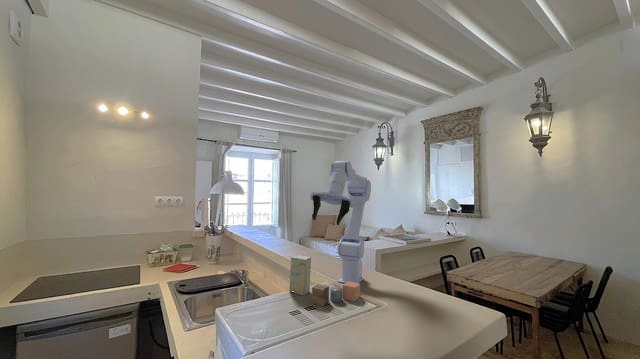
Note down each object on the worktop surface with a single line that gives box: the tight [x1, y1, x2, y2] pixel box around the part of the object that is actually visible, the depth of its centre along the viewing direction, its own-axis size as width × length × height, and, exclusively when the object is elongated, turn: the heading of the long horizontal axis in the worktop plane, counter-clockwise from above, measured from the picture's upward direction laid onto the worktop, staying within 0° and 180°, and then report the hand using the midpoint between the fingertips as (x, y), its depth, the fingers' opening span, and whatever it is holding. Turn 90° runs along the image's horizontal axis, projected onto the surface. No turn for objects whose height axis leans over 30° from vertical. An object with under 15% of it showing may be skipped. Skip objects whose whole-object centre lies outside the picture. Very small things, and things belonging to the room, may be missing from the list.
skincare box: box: [288, 254, 312, 296], centre depth 89 cm, size 6×4×12 cm
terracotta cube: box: [342, 281, 361, 302], centre depth 84 cm, size 4×4×4 cm
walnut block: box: [311, 283, 330, 307], centre depth 80 cm, size 4×4×5 cm
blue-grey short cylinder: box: [329, 286, 343, 304], centre depth 82 cm, size 4×4×4 cm
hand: (325, 220), depth 78 cm, fingers open, 7 cm apart
